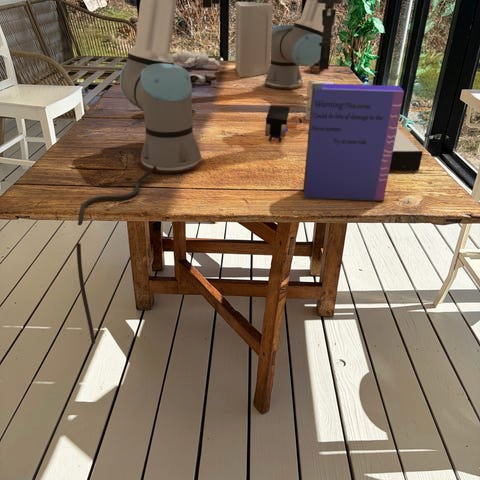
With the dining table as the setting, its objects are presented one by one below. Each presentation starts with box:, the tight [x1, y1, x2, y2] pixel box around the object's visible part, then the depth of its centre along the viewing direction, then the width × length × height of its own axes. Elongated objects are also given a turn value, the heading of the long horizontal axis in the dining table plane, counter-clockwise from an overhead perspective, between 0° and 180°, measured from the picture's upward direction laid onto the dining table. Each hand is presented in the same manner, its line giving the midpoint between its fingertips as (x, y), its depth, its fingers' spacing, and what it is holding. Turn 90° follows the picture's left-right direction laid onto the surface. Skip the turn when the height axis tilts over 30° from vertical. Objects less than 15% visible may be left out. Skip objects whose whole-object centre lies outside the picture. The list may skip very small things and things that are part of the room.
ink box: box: [304, 80, 336, 121], centre depth 155 cm, size 8×5×12 cm, turn 80°
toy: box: [169, 50, 221, 69], centre depth 223 cm, size 24×25×7 cm
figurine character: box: [264, 105, 290, 143], centre depth 140 cm, size 7×8×15 cm
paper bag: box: [234, 1, 274, 78], centre depth 210 cm, size 19×15×28 cm
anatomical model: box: [308, 60, 322, 74], centre depth 220 cm, size 13×9×15 cm
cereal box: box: [302, 83, 405, 202], centre depth 102 cm, size 17×5×24 cm, turn 86°
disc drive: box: [389, 127, 424, 172], centre depth 128 cm, size 18×22×5 cm
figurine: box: [190, 73, 218, 85], centre depth 194 cm, size 24×8×30 cm
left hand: (324, 64), depth 149 cm, fingers open, 13 cm apart
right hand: (211, 5), depth 159 cm, fingers open, 13 cm apart
